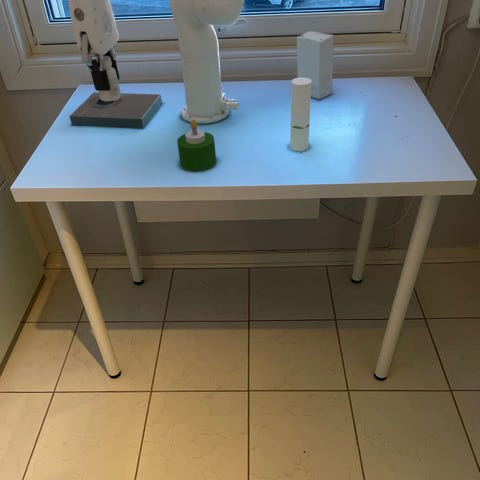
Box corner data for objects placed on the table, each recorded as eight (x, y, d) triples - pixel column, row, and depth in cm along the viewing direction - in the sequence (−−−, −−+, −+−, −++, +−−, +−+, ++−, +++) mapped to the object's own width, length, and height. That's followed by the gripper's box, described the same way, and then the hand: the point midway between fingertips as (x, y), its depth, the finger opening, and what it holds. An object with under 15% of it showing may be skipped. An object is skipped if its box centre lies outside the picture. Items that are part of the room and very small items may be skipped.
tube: (287, 145, 123) (287, 79, 113) (303, 141, 124) (305, 76, 114) (295, 152, 120) (297, 86, 110) (311, 148, 122) (315, 82, 111)
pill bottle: (123, 92, 111) (115, 54, 105) (118, 101, 108) (109, 62, 102) (103, 93, 111) (94, 55, 106) (97, 102, 108) (87, 63, 103)
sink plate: (162, 103, 145) (160, 94, 143) (143, 128, 134) (141, 119, 132) (95, 101, 149) (93, 92, 147) (71, 125, 138) (69, 116, 136)
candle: (180, 155, 122) (174, 113, 115) (215, 152, 123) (211, 110, 116) (180, 172, 116) (173, 129, 109) (216, 169, 117) (213, 126, 110)
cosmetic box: (332, 93, 144) (336, 35, 133) (318, 100, 141) (321, 41, 130) (309, 86, 148) (311, 29, 138) (295, 93, 145) (296, 34, 135)
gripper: (84, -5, 88) (110, 102, 101) (118, -30, 100) (138, 69, 113) (44, -4, 90) (74, 102, 103) (82, -29, 101) (105, 69, 114)
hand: (107, 84), depth 108 cm, fingers closed on pill bottle, 4 cm apart
